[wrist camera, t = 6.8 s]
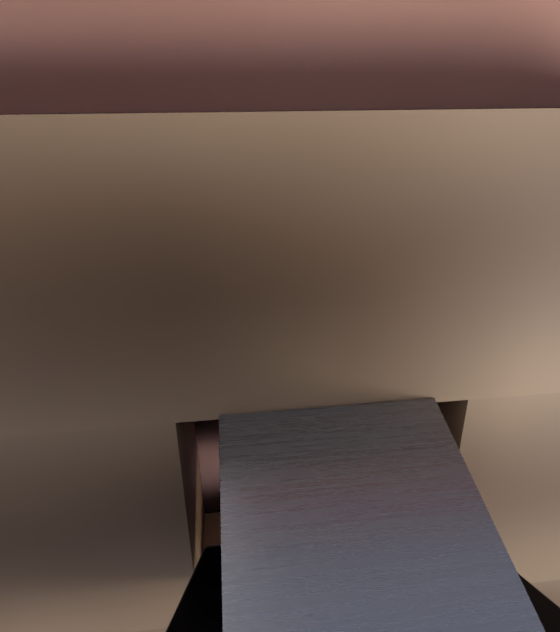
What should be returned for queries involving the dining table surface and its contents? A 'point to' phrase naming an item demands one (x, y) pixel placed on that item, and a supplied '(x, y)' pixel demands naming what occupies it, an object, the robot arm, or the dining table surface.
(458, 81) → the dining table surface
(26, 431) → the bore block
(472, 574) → the square bit
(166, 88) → the dining table surface
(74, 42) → the dining table surface
